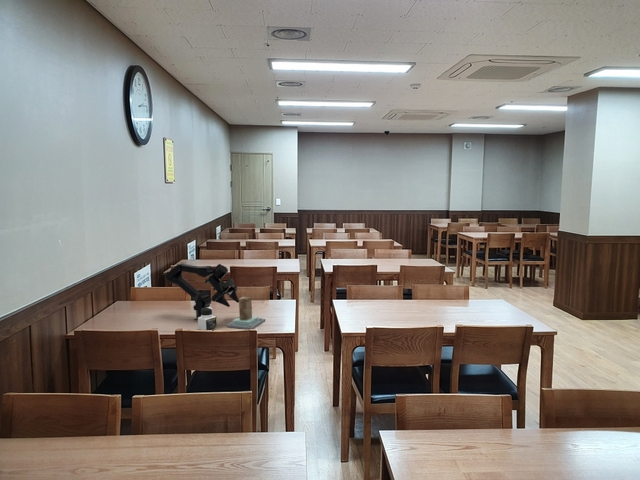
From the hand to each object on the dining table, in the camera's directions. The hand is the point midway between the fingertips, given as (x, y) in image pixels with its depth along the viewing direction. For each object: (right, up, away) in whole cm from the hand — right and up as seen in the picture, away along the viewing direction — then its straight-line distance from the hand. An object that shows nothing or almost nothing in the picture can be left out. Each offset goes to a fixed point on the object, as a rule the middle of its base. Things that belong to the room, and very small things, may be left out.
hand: (234, 304), depth 250 cm
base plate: (+7, -11, -1) cm, 13 cm away
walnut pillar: (+7, -8, -2) cm, 11 cm away
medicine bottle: (-13, -13, -9) cm, 20 cm away
